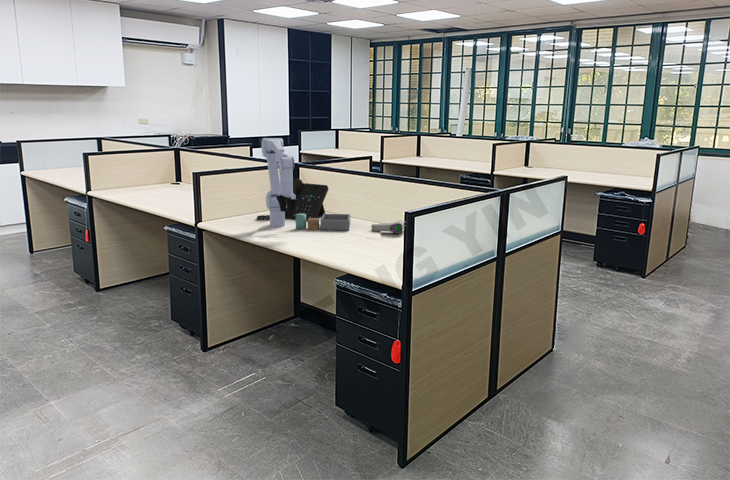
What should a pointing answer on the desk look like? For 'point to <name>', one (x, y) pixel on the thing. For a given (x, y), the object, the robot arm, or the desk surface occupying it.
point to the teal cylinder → (300, 221)
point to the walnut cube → (313, 223)
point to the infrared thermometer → (389, 227)
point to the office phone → (306, 200)
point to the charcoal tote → (335, 222)
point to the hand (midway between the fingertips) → (286, 212)
